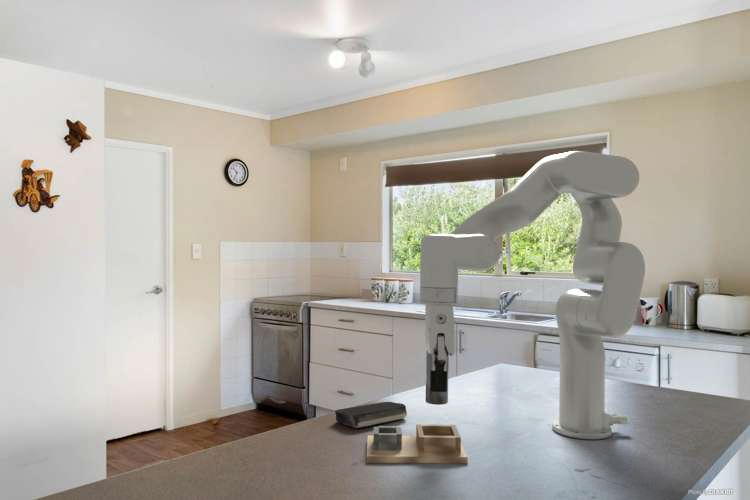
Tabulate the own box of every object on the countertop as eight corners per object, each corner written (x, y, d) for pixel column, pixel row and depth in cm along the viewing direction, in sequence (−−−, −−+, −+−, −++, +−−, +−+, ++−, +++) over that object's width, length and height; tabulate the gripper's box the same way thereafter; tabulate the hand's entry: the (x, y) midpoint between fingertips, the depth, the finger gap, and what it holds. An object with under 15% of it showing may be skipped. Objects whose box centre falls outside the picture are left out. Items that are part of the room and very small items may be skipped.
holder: (458, 441, 120) (458, 421, 120) (467, 463, 108) (467, 441, 108) (367, 441, 120) (367, 421, 120) (366, 462, 108) (366, 440, 108)
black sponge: (351, 433, 126) (352, 416, 126) (332, 423, 133) (332, 407, 133) (410, 421, 135) (410, 405, 135) (389, 412, 142) (389, 397, 142)
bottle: (446, 399, 116) (447, 339, 116) (449, 404, 112) (450, 343, 112) (424, 398, 116) (425, 339, 116) (426, 404, 112) (427, 342, 112)
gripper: (464, 300, 106) (462, 399, 106) (452, 293, 122) (450, 379, 122) (423, 299, 106) (421, 399, 106) (416, 292, 122) (415, 378, 122)
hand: (437, 387), depth 114 cm, fingers closed on bottle, 4 cm apart
